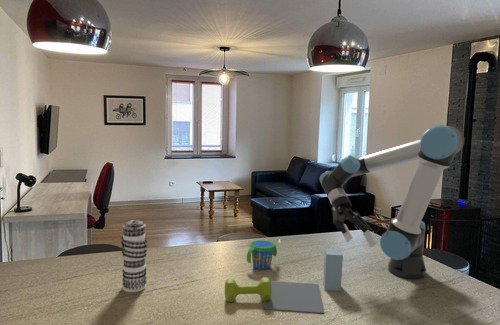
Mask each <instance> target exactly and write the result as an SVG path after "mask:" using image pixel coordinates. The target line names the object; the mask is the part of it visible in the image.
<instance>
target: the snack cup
mask: <svg viewBox="0 0 500 325" xmlns="http://www.w3.org/2000/svg"><path fill="white" fill-rule="evenodd" d="M277 255H278V250H277V245H276V244H275V243H274V242H272V241H268V240H263V239H262V240H261V239H260V240H253V241H251V242H250V246H249V249H248V250H247V255H246V261H247V262H248V263H249V264H251V263H252V265H253V268H255V269H257V270H266V269H267V270H268V269H269V268H271V265H272V259H273V256H274V257H276V256H277Z"/></svg>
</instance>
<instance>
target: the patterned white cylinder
mask: <svg viewBox="0 0 500 325" xmlns="http://www.w3.org/2000/svg"><path fill="white" fill-rule="evenodd" d="M146 226H147V225H146V223H144V222H143V221H142V220H139V219H131V220H128V221H126V223H125V224H124V225H122V230H123V231H122V232H123V234H122V235H121V237H120V240H121V241H120V244H121V250H122V251H121V255H122V260H123V264H122V265H123V266H122V267H123V269H122V275H121V276H122V277H123V278H122V280H121V281H122V290H123V291H125V292H127V293H136V292H141V291H143V290H145V289H146V288H147V267H146V257H147V251H148V250H147V249H146V248H147V246H148V245H147V243H148V240H146V239H145V238H147V234H146V228H145V227H146Z"/></svg>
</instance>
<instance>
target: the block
mask: <svg viewBox="0 0 500 325" xmlns="http://www.w3.org/2000/svg"><path fill="white" fill-rule="evenodd" d="M323 258H324V260H323V261H324V262H323V282H322V285H323V287H324V291H333V292H334V291H336V292H341V291H342V277H343V262H344V261H343V260H344V256H343V252H342V250H341V249H335V248H334V249H333V248H332V249H331V248H324V257H323Z"/></svg>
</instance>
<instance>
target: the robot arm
mask: <svg viewBox="0 0 500 325" xmlns="http://www.w3.org/2000/svg"><path fill="white" fill-rule="evenodd" d="M464 145H465V137H464V134H463V132H462V131H461V130H460V129H459V128H457V127H456V126H453V125H444V124H441V125H440V124H439V125H435V126H432V127H430V128H428V129H427V130H426V131H424V133H423V134H422V136H421V138H420V139H417V140H413V141H411V142H407V143H404V144H401V145H398V146H394V147H390V148H388V149H384V150H380V151H378V152H375V153H372V154H371V153H370V154H368V155H365V156H361V157H358V158H356V157H355V156H352V155H350V154H348V155H346V156H345V157H344V158H343V159H342V160H341V161H340V162H339V163H338V165H337V166H336V167H335V168H334V169H333V170H332V171H331V170H326V171H325V172H323V173H322V174H320V176H319V182H320V184H321V187H322V188H323V190H324V193H325V194H326V197H327V198H328V200H329V202H330V204H331V212H332V223H333V225H334V226H335V228H336V229H337V230H338V229H339V230H340V231H341V233H342V235H343V237H344V239H345V242H346V243H349V242H350V241H351V240H352V239H353V236H352V234H351V231H350V230H349V228H348V226H347V224H345V220H348V221H349V222H350V223H352V224H354V225H355V226H356V227H357V228H358V229H359V230H360V231H361V232H362V233H363V236H364V238H365V239H366V242H367V244H368V245H369V247H370V248H373V247H374V246H375V245H377V242H376V240H375V238H374V237H373V235H372V233H371V231H373V228H372V227H371V226H370V225H369V224H368V223H367V222H366V220H365V219H364V218H363V217H362V216H361V214H360V213H359V212H358V211H357V210H356V211H355V212H354V211H353V210H352V206H353V204H352V202H351V200H350V199H349V197H348V195H347V193H346V192H345V189H344V187H343V186H344V185H345V184H346V183H347V182H348V181H349V180H350V179H351V178H353V177H358V176H362V175H363V176H364V175H365V174H369V173H373V172H376V171H379V170H383V169H387V168H390V167H394V166H398V165H401V164H406V163H409V162H412V161H413V162H414V161H417V160H418V161H419V163H418V165H417V167H416V169H415V171H414V174H413V177H412V180H411V182H410V185H409V186H408V189H407V191H406V194H405V197H404V199H403V200H402V202H401V203H402V204H401V206H400V207H399V211H398V213H397V216H396V217H393V218H391V220H390V222H389V225H388V226H387V229H386V231H385V232H384V233H383V234H382V235H381V237H380V239H379V245H380V248H381V251H382V252H383V254H384V255H386V257H388V258H390V259H389V261H388V264H387V270H388V272H389V273H391V274H393V275H395V276H397V277H400V278H404V279H409V280H411V279H412V280H413V279H414V280H420V279H424V278H425V277H426V276H427V267H426V264H425V260H424V247H425V246H424V245H425V236H426V235H425V234H426V230H427V229H426V223H425V221H422V220H423V218H424V216H425V213H426V210H427V209H428V206H429V204H430V201H431V200H432V197H433V195H434V192H435V190H436V188H437V186H438V183H439V181H440V178H441V176H442V175H443V171H444V170H446V169H448V168H450V167H451V165H452V162H453V161H454V158H455V156H456V154H457V153H459V152H460V151H461V150H462V149H463V147H464Z"/></svg>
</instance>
